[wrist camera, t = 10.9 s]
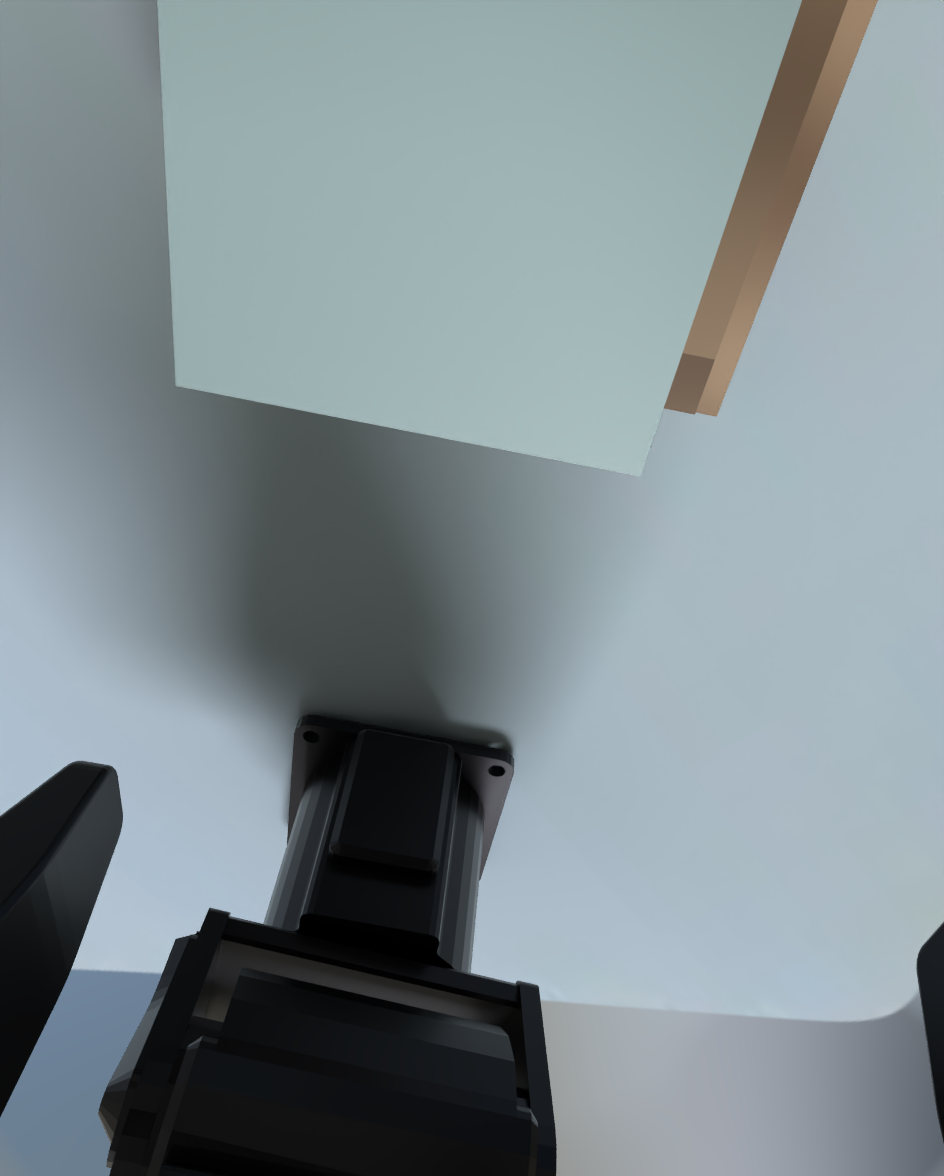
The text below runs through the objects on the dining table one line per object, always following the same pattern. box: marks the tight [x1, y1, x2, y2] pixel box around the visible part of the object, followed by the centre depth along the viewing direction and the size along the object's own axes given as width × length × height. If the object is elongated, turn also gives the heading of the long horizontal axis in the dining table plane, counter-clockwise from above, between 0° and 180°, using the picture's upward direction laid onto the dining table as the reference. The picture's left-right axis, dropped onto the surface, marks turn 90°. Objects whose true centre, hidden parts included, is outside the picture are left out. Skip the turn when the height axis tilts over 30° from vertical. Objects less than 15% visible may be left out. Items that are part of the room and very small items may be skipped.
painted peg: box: [157, 0, 802, 477], centre depth 11 cm, size 5×5×9 cm
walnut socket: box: [664, 0, 878, 416], centre depth 13 cm, size 11×11×4 cm
